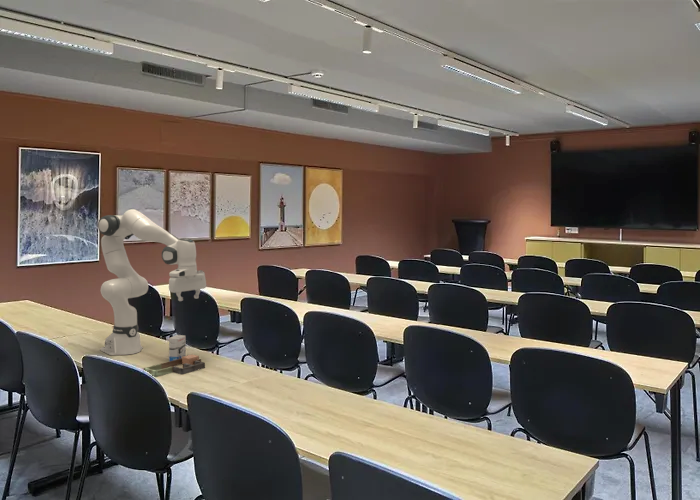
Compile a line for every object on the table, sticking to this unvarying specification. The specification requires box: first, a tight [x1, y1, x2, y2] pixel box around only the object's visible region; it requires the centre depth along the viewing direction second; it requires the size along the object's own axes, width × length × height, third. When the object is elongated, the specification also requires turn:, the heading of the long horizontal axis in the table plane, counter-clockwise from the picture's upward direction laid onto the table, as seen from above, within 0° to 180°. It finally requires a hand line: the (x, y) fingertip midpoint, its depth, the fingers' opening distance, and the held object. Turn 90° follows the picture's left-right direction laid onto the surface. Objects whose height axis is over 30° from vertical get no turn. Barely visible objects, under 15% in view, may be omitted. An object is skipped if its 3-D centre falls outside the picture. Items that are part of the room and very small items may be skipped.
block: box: [181, 353, 200, 366], centre depth 282 cm, size 5×6×4 cm
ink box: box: [168, 334, 187, 362], centre depth 288 cm, size 8×5×12 cm, turn 168°
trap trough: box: [143, 358, 206, 378], centre depth 272 cm, size 15×26×2 cm, turn 145°
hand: (188, 299), depth 285 cm, fingers open, 8 cm apart
